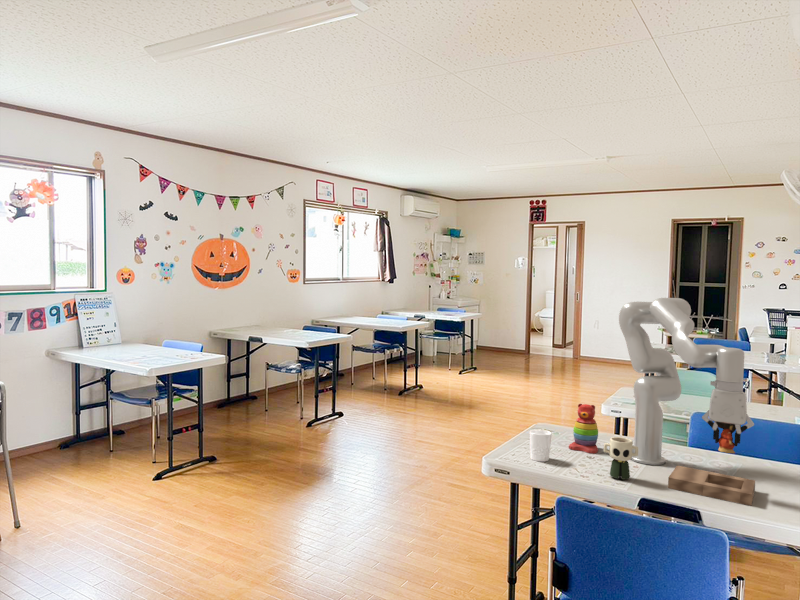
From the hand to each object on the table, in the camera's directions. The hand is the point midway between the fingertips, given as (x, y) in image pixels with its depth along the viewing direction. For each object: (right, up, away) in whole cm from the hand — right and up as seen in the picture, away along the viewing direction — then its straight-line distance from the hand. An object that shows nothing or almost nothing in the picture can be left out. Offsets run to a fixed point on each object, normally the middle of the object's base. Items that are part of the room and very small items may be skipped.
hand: (726, 443), depth 181 cm
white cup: (-52, -13, +29) cm, 61 cm away
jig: (-4, -16, +3) cm, 16 cm away
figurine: (0, -3, 0) cm, 3 cm away
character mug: (-30, -15, +11) cm, 35 cm away
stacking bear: (-31, -14, +45) cm, 56 cm away
